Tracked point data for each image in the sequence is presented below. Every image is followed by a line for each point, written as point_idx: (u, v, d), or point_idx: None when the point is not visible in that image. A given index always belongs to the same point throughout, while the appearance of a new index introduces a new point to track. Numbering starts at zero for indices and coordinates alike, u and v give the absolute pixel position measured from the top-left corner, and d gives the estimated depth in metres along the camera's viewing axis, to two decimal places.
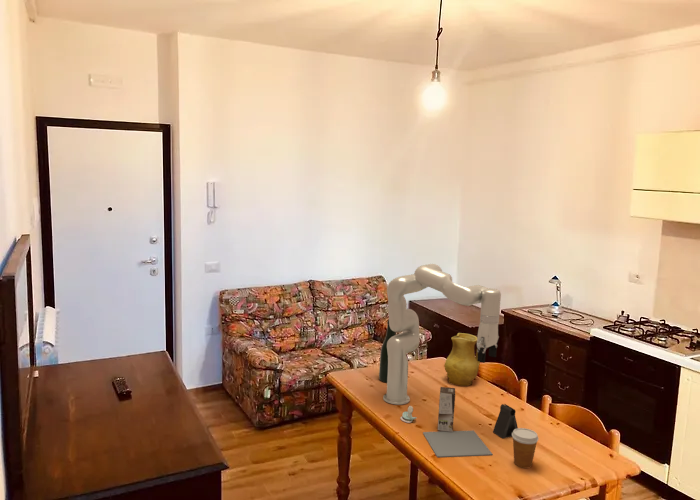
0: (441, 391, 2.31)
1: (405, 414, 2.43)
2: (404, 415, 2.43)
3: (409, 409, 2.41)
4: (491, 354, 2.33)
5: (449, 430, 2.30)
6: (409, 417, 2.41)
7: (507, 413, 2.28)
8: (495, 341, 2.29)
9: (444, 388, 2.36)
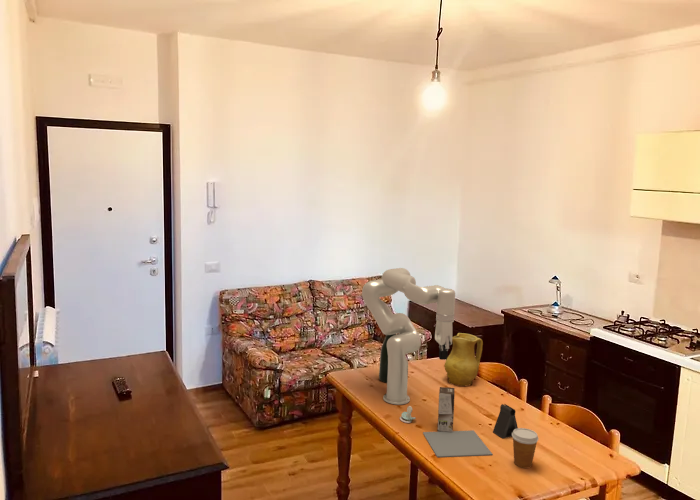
0: (440, 392, 2.31)
1: (404, 414, 2.43)
2: (403, 415, 2.42)
3: (408, 409, 2.41)
4: None
5: (449, 430, 2.30)
6: (408, 417, 2.41)
7: (507, 413, 2.28)
8: None
9: (443, 389, 2.35)
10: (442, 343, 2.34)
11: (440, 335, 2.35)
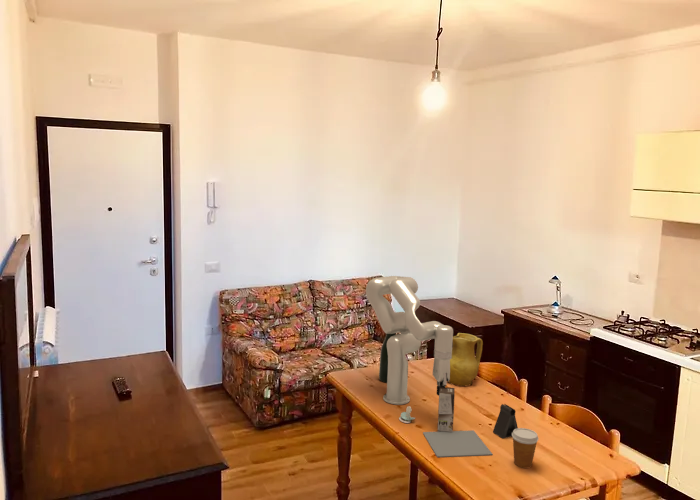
0: (440, 392, 2.31)
1: (403, 414, 2.43)
2: (402, 415, 2.42)
3: (407, 409, 2.41)
4: None
5: (449, 430, 2.30)
6: (407, 417, 2.41)
7: (507, 413, 2.28)
8: None
9: (443, 389, 2.35)
10: (440, 380, 2.36)
11: (438, 372, 2.37)
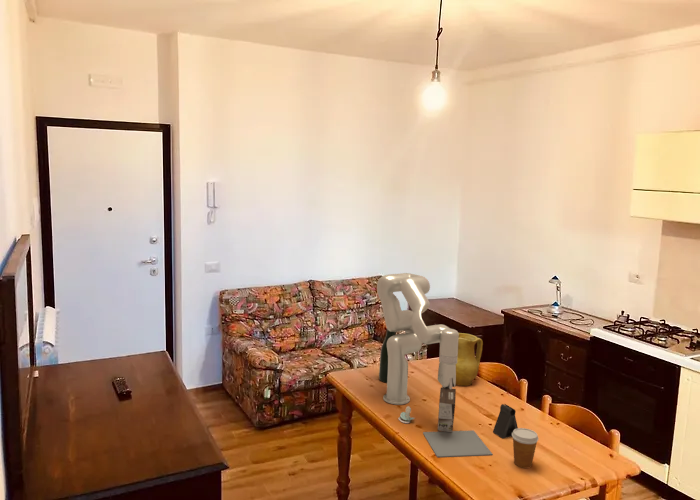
0: (441, 400, 2.24)
1: (403, 414, 2.43)
2: (402, 416, 2.42)
3: (407, 409, 2.41)
4: None
5: (449, 431, 2.29)
6: (407, 418, 2.40)
7: (507, 413, 2.28)
8: None
9: (444, 392, 2.27)
10: (445, 385, 2.29)
11: (443, 377, 2.30)
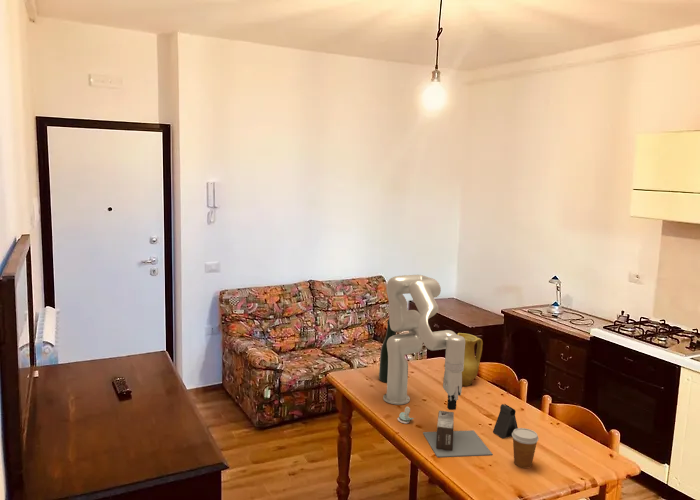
0: (438, 445, 2.15)
1: (402, 415, 2.43)
2: (401, 416, 2.42)
3: (406, 410, 2.40)
4: None
5: None
6: (406, 418, 2.40)
7: (507, 413, 2.28)
8: None
9: (440, 434, 2.14)
10: (451, 394, 2.21)
11: (449, 385, 2.22)
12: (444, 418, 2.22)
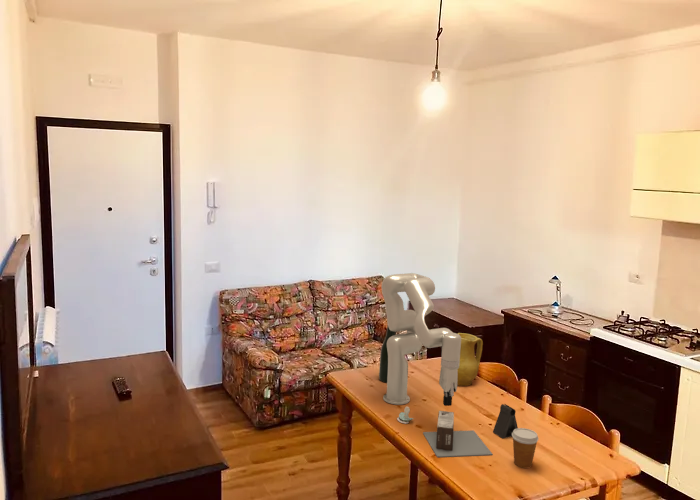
0: (438, 445, 2.15)
1: (402, 415, 2.43)
2: (401, 416, 2.42)
3: (406, 410, 2.40)
4: None
5: None
6: (406, 418, 2.40)
7: (507, 413, 2.28)
8: None
9: (441, 434, 2.14)
10: (447, 390, 2.26)
11: (445, 381, 2.27)
12: (444, 418, 2.22)
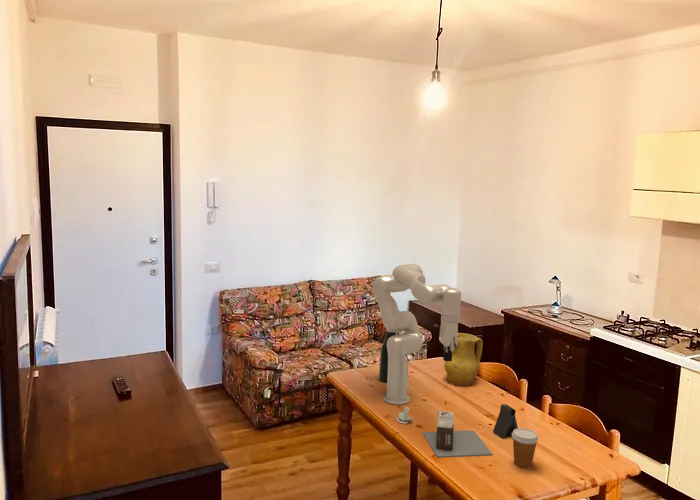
0: (438, 445, 2.15)
1: (401, 415, 2.42)
2: (400, 416, 2.42)
3: (405, 410, 2.40)
4: None
5: None
6: (405, 418, 2.40)
7: (507, 413, 2.28)
8: None
9: (440, 434, 2.14)
10: (447, 344, 2.26)
11: (445, 336, 2.27)
12: (444, 418, 2.22)
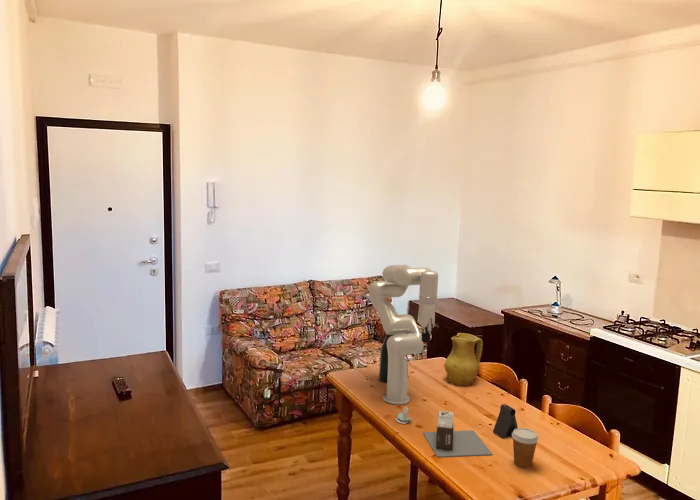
0: (438, 445, 2.15)
1: (400, 415, 2.42)
2: (399, 416, 2.41)
3: (404, 410, 2.40)
4: None
5: None
6: (404, 418, 2.40)
7: (507, 413, 2.28)
8: None
9: (440, 434, 2.14)
10: (424, 325, 2.32)
11: (422, 317, 2.33)
12: (444, 418, 2.22)
